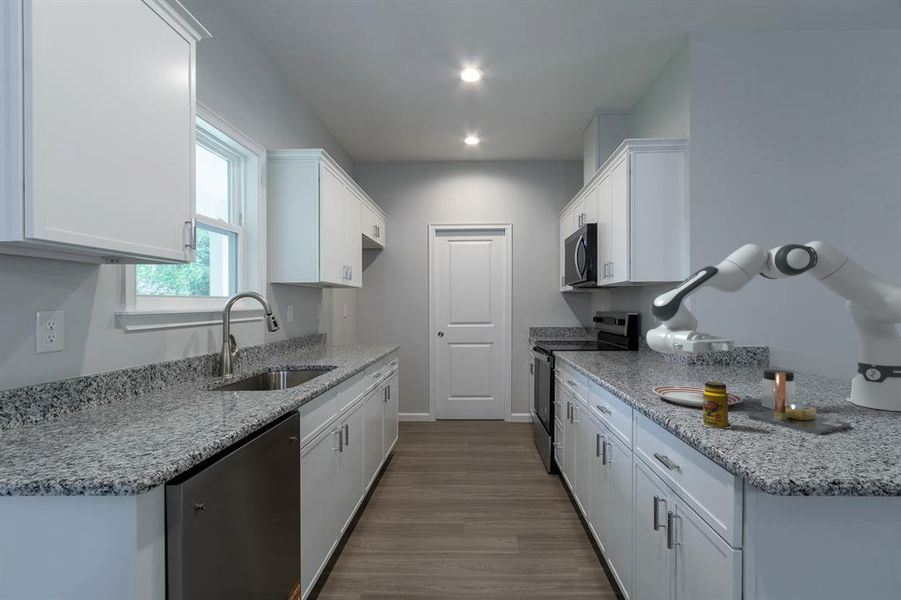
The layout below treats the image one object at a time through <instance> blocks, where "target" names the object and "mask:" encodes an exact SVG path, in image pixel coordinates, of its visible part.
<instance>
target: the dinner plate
mask: <svg viewBox="0 0 901 600" xmlns="http://www.w3.org/2000/svg"><path fill="white" fill-rule="evenodd" d="M652 391H653V392H654V394H655V395H657V396H659V397H661V398H663V399H666V400H668V402H669V401H670V402H671V403H674V404H679V405H683V406H687V407H695V408H703V393H704V391H705V387H699V386H688V385H661V386H654V387H653V388H652ZM726 393H727V394H728V406H731V405H735V404H739V403H741V402H743V398H742V397H741V396H739V395H737V394H734V393H731V392H727V391H726Z"/></svg>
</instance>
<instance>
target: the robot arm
mask: <svg viewBox="0 0 901 600" xmlns="http://www.w3.org/2000/svg"><path fill="white" fill-rule="evenodd" d="M803 273H808V274H809V275H811V277H813V278H814V279H816V280H817V281H818V282H819V283H820V284H822V285H823V286H824V287H826V288H827V289H828V290H830V291H831V292H832V293H833V294H835V295H837V297H841V298H844V299H845V300H847V301H846V304H845V308H846V311H847V313H848V314H849V315H850V317H852V320H853V322H854V326H855V329H856V333H857V336H858V342H859V343H858V344H859V349H858V351H859V353H858V354H859V355H858V356H859V361H858V363H857V366H856V369H857V373H858V374H857V375H856V376H854V377H853V378H852V380H851V381H852V382H851V393H850V396H849V397H846V399H845V400H846V401H847V402H850V403H852V404H854V405H857V406H860V407H864V408H871V409H875V410H877V409H878V410H882V411H883V410H884V411H890V412H891V411H893V412H901V335H900V333H899V332H898V329H897V326H896V324H901V287H899V286H897V285H895V284H893V283H891V282H890V281H888V280H886V279H883V278H882V277H879V276H878V275H875V273H872V272H870V271H869V270H867V269H866V268H864V267H863V266H861V265H860V264H858V262H856V261H854V260H853V259H852V258H850V257H849V256H847V254H845V253H844V252H842V251H840V250H839V249H837V248H835V247H834V246H832V245H830V244H828V243H827V242H823V241H821V240H813V241H809V242H808V243H806V244H804V245H802V244H799V243H798V244H797V243H788V244H786V245H780V246H777V247H774V248H771V249H770V250H769V249H768V250H766V249H764V248H763V247H762V246H760V245H758V244H756V243H747V244H744V245H743V246H741V247H740V248H738V249H737V250H735V251H734V252H731V254H729V255H728V256H727V257H726V258H725V259H723V261H721V262H719V263H718V264H717V265H715V266H711V265H707V266H706V267H705V266H704V267H702V268H701V269H699V270H698V271H696V272H694V273H693V274H691V275H690V276H689V277H687V278H685V279H683V281H681V282H680V283H678V284H676V285H675V286H674V287H672V288H670V289H669V290H667V291H665V292H663V293H661V294H659V295H658V296H656V297H655V298H654V300H653V302H652V305H651V309H650V310H651V311H650V312H651V313H652V315H653V316H654V317H656V318H657V320H659V321H660V322H661V323H662V324H661V325H659V326H658V327H655V328H653V329H649V330H648V331H647V333H646V337H645V338H646V339H645V340H646V344H647V345H648V347H649V348H650V349H651V350H652V351H655V352H658V353H662V354H663V353H664V354H669V355H672V354H676V355H678V356H683V357H690V358H694V357H695V358H696V357H698V356H701V355H702V354H708V353H714V352H728V351H729V352H732V351H734V350H735V341H734V339H731V338H727V337H721V336H715V335H711V334H710V333H703V332H700V331H697V328H698V325H699V324H698V320H697V318H696V317H695V316H694V315H693V313H692V312H691V311H690V310H689V309H688V307H687V306H686V305H685V304H684V302H685V300H686V299H687V298H689V297H691V296H692V295H693V294H695V293H697V292H698V291H699V290H701V289H702V288H704V287H711V288H712V289H715V290H717V291H719V292H723V293H730V294H731V293H735V292H738V291H740V290H742V289H743V288H744V287H746V286H747V285H748V284H749V283H750V282H751V281H753V279H754V278H755V277H756V276H758V275H760V276H761V277H763V278H766V279H770V280H777V279H780V280H781V279H788V278H791V277H794V276H799V275H801V274H803Z"/></svg>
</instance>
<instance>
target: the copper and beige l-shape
mask: <svg viewBox="0 0 901 600" xmlns="http://www.w3.org/2000/svg"><path fill="white" fill-rule="evenodd" d="M816 416H817V409H816V408H815V407H811V406H805V410H798V409H793V408H789V404H786V374H785V373H775V412H774V418H779V419H784V418H789V417H790V418H794V419H799V420H810V419H815V418H816Z"/></svg>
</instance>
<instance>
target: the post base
mask: <svg viewBox="0 0 901 600" xmlns="http://www.w3.org/2000/svg"><path fill="white" fill-rule="evenodd" d="M805 407H806V405H805V404H804V403H800V402H795V403H789V408H793V409H798V410H805ZM774 412H775V410H774V409H770V410H764V411H761V412H754V413H749V414H748V419H750V418H751V420H754V419H755V421H758V420H760V422H763V421H764V422H763V423H767V422H769V423H768V424H771V423H773V424H772V425H775V424H778V425H777V426H780V425H783V426H782V427H784V426H787V427H786V428H788V427H791V428H790V429H793V428H795V429H794V430H797V429H799V430H798V431H801V430H804V431H803V432H805V431H808V432H807V433H810V432H812V433H811V434H814V433H817V434H816V435H818V434H821V435H823V434H822V433H825V434H827V433H826V432H829V433H831V432H830V431H833V432H836V431H835V430H837V431H840V430H839V429H842V430H845V429H844V428H846V429H849V428H848V427H850V428H851V424H852V423H851V422H847V421H843V420H838V418H837V417H838V414H837V413H831V412H829V413H828V417H823V416H818V415H816V418H815V419H810V420H799V419H794V418H790V417H789V418H784V419H779V418H774Z"/></svg>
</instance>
